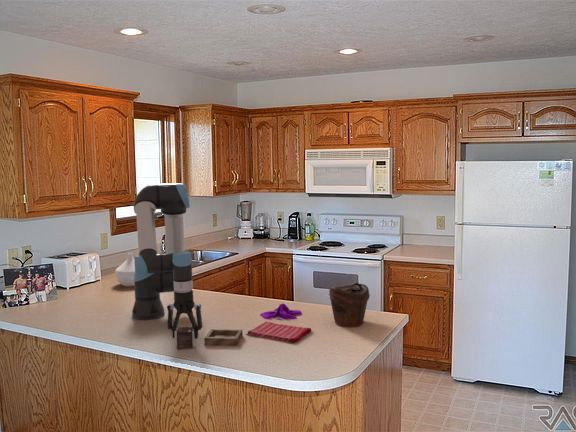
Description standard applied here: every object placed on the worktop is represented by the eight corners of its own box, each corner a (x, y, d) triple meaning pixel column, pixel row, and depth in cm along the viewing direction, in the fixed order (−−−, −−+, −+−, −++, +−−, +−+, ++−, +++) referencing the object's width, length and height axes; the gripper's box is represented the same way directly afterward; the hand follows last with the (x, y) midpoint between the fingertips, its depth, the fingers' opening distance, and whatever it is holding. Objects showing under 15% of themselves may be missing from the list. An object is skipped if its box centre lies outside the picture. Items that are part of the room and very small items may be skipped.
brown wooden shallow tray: (204, 345, 219) (204, 338, 218) (211, 335, 230) (211, 328, 229) (237, 345, 217) (237, 338, 217) (242, 336, 228) (242, 329, 228)
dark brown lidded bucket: (373, 317, 250) (372, 279, 248) (365, 331, 231) (364, 291, 229) (336, 314, 256) (335, 278, 254) (325, 328, 237) (324, 289, 235)
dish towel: (294, 345, 218) (294, 339, 218) (245, 336, 230) (245, 330, 229) (313, 332, 233) (312, 326, 233) (266, 324, 244) (266, 319, 244)
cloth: (253, 318, 254) (253, 305, 253) (275, 308, 270) (274, 296, 269) (294, 325, 242) (294, 312, 242) (314, 314, 258) (313, 302, 257)
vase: (142, 288, 311) (141, 255, 309) (111, 288, 311) (109, 256, 309) (151, 280, 329) (149, 249, 327) (121, 281, 330) (119, 250, 327)
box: (179, 344, 220) (178, 326, 219) (194, 343, 221) (193, 326, 220) (177, 349, 214) (176, 332, 213) (192, 348, 215) (191, 331, 214)
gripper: (156, 292, 212) (159, 348, 215) (204, 293, 210) (206, 349, 213) (163, 287, 219) (165, 342, 222) (209, 288, 217) (211, 343, 220)
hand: (185, 345), depth 217 cm, fingers closed on box, 6 cm apart
